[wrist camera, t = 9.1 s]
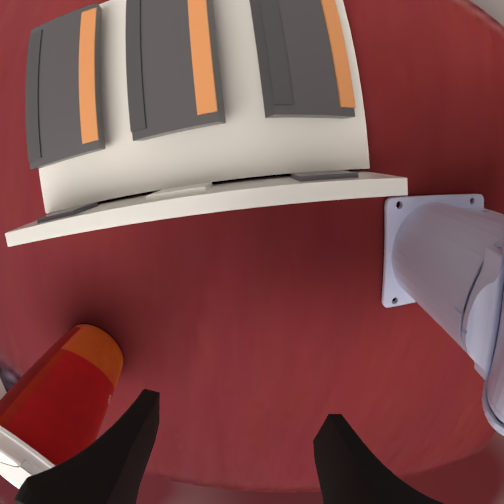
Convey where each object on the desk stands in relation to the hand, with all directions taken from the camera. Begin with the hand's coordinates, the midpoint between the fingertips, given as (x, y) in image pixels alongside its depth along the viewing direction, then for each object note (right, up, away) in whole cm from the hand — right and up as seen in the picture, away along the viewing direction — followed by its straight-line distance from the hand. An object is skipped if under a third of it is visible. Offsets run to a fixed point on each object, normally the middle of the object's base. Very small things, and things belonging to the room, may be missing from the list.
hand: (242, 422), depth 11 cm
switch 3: (+3, +19, +1) cm, 19 cm away
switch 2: (-4, +18, +2) cm, 19 cm away
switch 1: (-11, +17, +2) cm, 20 cm away
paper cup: (-13, -1, +11) cm, 17 cm away
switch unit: (-4, +18, +5) cm, 19 cm away
